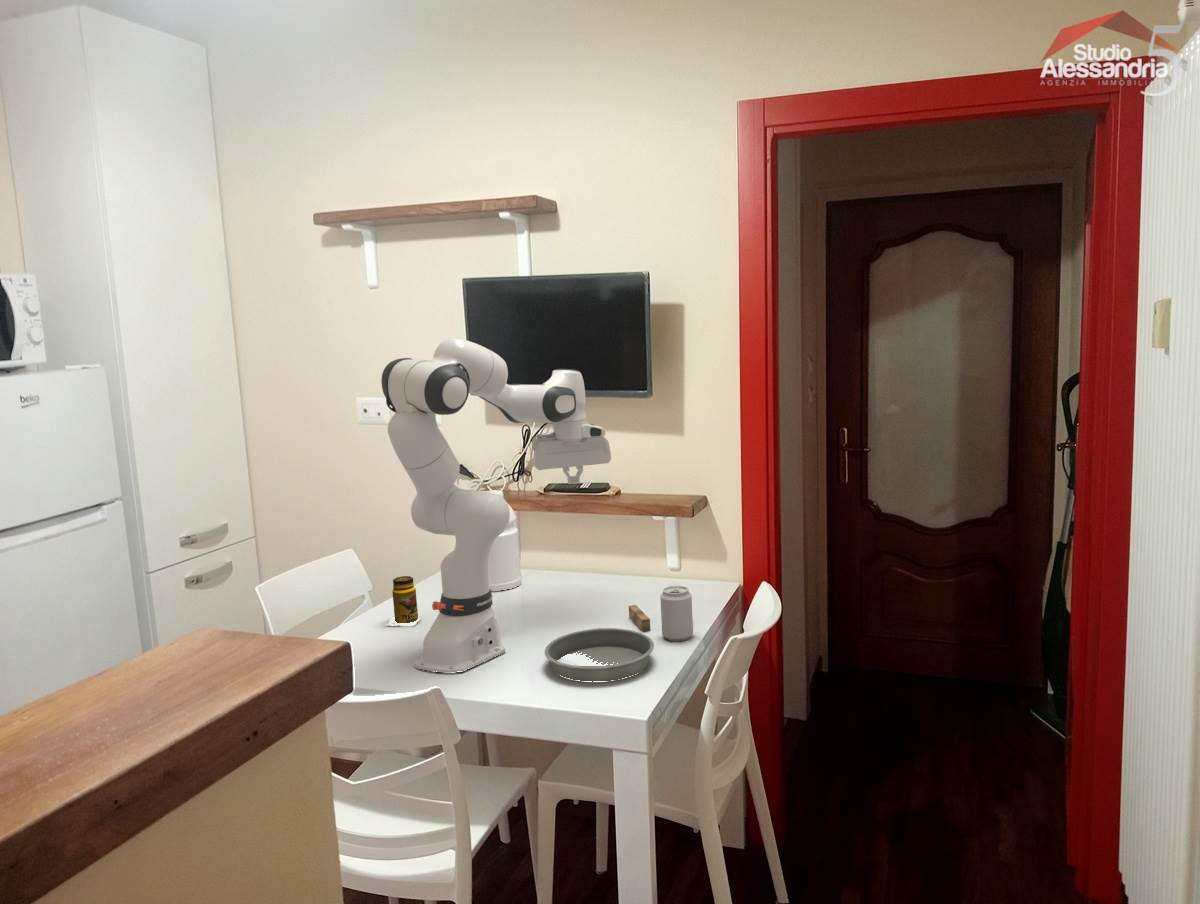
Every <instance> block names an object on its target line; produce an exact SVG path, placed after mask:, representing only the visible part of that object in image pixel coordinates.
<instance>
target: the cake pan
mask: <svg viewBox="0 0 1200 904" xmlns="http://www.w3.org/2000/svg"><path fill="white" fill-rule="evenodd" d="M654 643H655V642H654V641H653V639H652V638H651V637H649V636H648V635H646V634H644V633H642V632H639V631H636V630H631V629H626V628H616V627H614V628H612V627H610V628H609V627H606V628H605V627H604V628H603V627H602V628H591V629H583V630H578V631H574V632H571V633H568V634H564V635H562V636H559V637H557V638H555V639H553V640H551V641H550V642H549V643H548V644H547V645H546V646H545V649H544V656H545V658H546V659H547V660H548V661H550V663H551V665H552V668H553V671H554V670H555V671H554V672H556V673H557V674H559V675H561V676H563V677H566V678H570V679H573V680H580V681H592V682H593V681H611V680H618V679H622V678H625V677H629V676H632V675H635V674H637V673H639V672H641V671H642V670H643V671H645V670H646V668H647V667H648V665H649V658H650V655H651V654H652V653H653V651H654V649H655V644H654ZM578 651H579V652H578ZM576 652H577V653H578V654H579V653H581V652H582V654H580V655H583V654H587V655H585V656H586V657H589V656H591V657H589V658H590V659H593V658H594V659H593V661H592V662H594V661H597V660H598V661H597V662H598V663H600V662H603V663H601V664H602V665H604V664H606V663H607V662H608V663H607V664H608V665H606V666H579V665H576V664H573V665H572V664H568V663H563V662H561V661H560V660H559V659H560V658H561V657H563V656H565V655H567V654H573V653H576ZM576 655H577V654H576ZM557 660H559V661H557ZM588 660H589V659H588ZM613 662H614V663H613ZM598 663H596V664H598ZM617 663H618V664H617ZM610 664H613V665H610ZM646 666H647V667H646ZM643 671H642V672H643ZM642 672H641V673H642ZM556 673H555V674H556ZM557 674H556V675H557ZM639 674H640V673H639ZM559 675H558V676H559ZM637 675H638V674H637ZM635 676H636V675H635Z"/></svg>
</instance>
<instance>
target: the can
mask: <svg viewBox="0 0 1200 904" xmlns="http://www.w3.org/2000/svg"><path fill="white" fill-rule="evenodd" d="M659 597H660V617H661V634H662V636H663V637H664V638H665V639H666V640H668V641H672V642H683V641H686V640H689V639H690V637H692V635H694V626H693V625H694V624H693V622H694V621H693V619H692V618H693V601H692V593H691V592H690V591H689V588H688V587H687V586H683V585H670V586H666V587H664V588H663V589H662V593H661V594H660V595H659Z"/></svg>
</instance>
